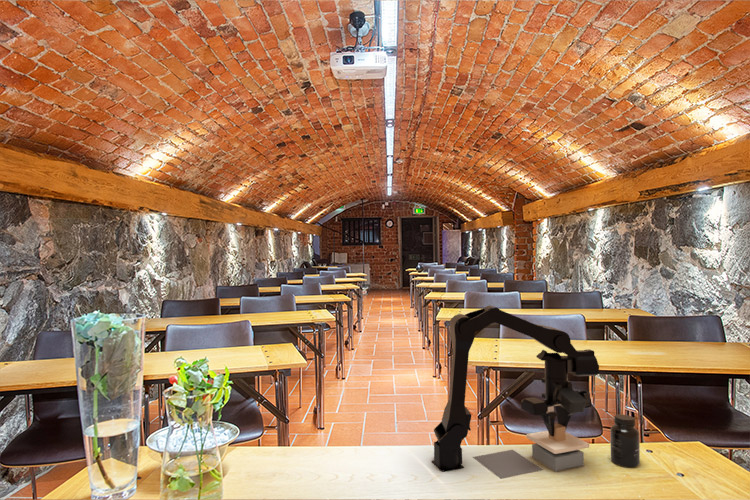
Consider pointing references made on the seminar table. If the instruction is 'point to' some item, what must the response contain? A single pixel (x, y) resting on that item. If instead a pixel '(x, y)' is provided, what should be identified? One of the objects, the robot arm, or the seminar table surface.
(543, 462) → the dish
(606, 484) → the seminar table surface
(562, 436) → the lid
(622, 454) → the supplement bottle
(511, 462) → the mat
